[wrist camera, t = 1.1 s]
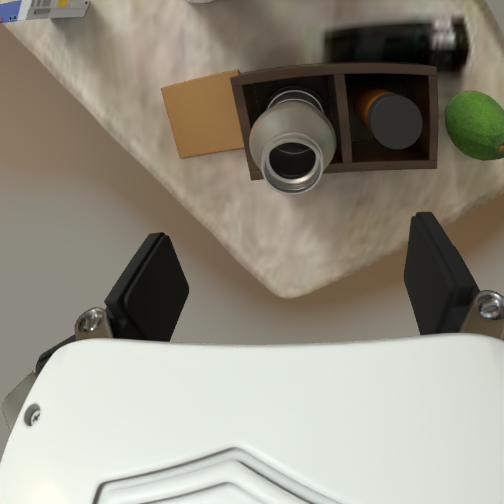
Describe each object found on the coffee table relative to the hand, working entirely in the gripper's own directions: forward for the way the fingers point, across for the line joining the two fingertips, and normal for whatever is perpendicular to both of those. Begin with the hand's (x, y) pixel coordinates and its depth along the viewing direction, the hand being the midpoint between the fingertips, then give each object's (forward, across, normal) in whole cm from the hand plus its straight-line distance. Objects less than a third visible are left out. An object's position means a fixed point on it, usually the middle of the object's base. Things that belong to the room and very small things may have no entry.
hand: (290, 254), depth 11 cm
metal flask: (+28, 0, -1) cm, 28 cm away
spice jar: (+28, -9, -1) cm, 29 cm away
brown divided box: (+28, -5, -1) cm, 28 cm away
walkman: (+28, +27, -25) cm, 46 cm away
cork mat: (+28, +11, -2) cm, 30 cm away
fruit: (+28, -22, 0) cm, 36 cm away
